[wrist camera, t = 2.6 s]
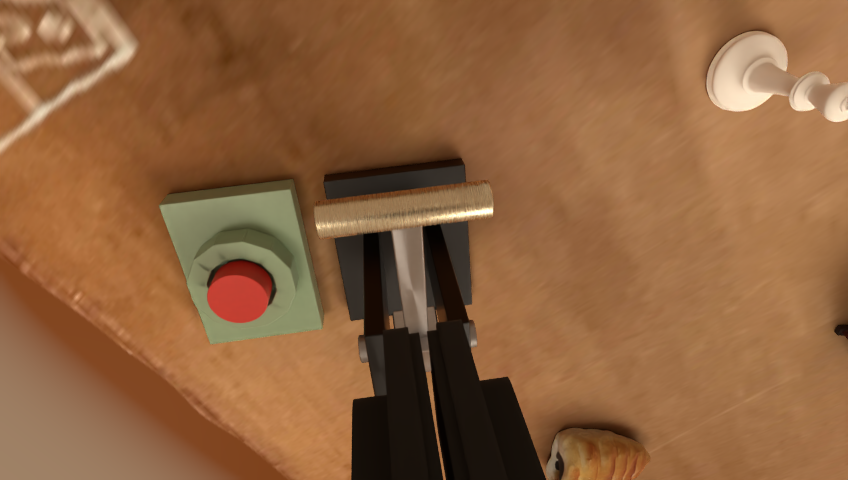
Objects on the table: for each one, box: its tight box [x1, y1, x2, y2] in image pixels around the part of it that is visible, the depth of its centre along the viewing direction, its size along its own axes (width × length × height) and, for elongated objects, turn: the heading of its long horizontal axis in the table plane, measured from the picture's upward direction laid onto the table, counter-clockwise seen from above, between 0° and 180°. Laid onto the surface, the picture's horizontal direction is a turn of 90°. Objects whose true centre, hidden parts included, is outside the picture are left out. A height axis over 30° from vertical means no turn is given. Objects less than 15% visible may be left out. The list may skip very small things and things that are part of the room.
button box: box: [159, 179, 324, 344], centre depth 34 cm, size 11×8×4 cm
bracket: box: [323, 159, 477, 396], centre depth 31 cm, size 11×9×13 cm
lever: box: [314, 180, 494, 372], centre depth 23 cm, size 13×6×2 cm, turn 6°
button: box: [207, 260, 272, 323], centre depth 32 cm, size 4×4×2 cm
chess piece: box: [706, 31, 848, 122], centre depth 29 cm, size 5×5×10 cm
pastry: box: [546, 428, 650, 480], centre depth 48 cm, size 9×7×4 cm
